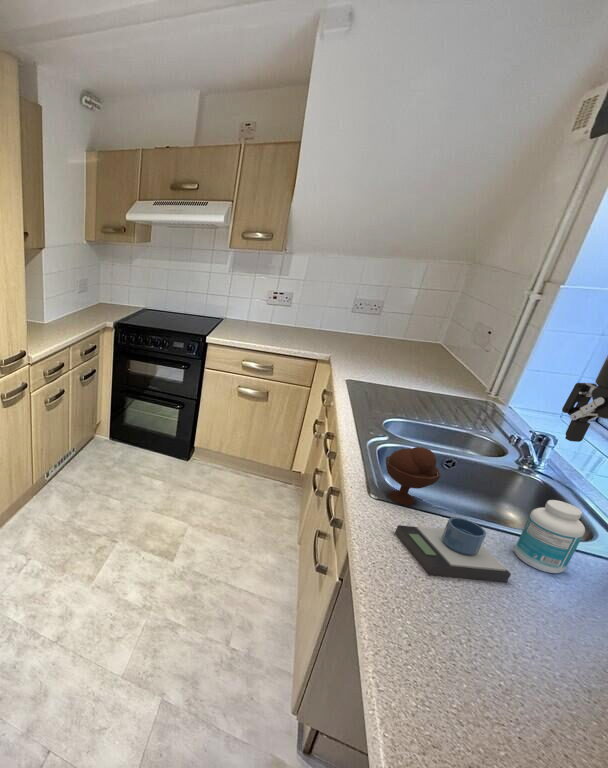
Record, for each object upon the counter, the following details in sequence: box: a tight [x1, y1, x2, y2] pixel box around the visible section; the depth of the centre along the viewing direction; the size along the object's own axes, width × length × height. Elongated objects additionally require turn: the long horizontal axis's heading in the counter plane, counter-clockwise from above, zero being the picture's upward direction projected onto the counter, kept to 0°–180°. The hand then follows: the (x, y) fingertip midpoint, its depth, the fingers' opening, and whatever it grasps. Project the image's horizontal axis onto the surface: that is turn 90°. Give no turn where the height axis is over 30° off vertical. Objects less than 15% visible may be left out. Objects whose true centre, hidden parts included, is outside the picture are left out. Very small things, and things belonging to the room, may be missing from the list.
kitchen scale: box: [394, 525, 512, 583], centre depth 85 cm, size 14×12×3 cm
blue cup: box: [442, 516, 487, 555], centre depth 84 cm, size 6×6×5 cm
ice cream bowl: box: [385, 446, 441, 506], centre depth 101 cm, size 11×11×15 cm
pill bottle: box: [514, 499, 586, 574], centre depth 82 cm, size 8×7×14 cm
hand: (596, 452), depth 71 cm, fingers open, 8 cm apart
